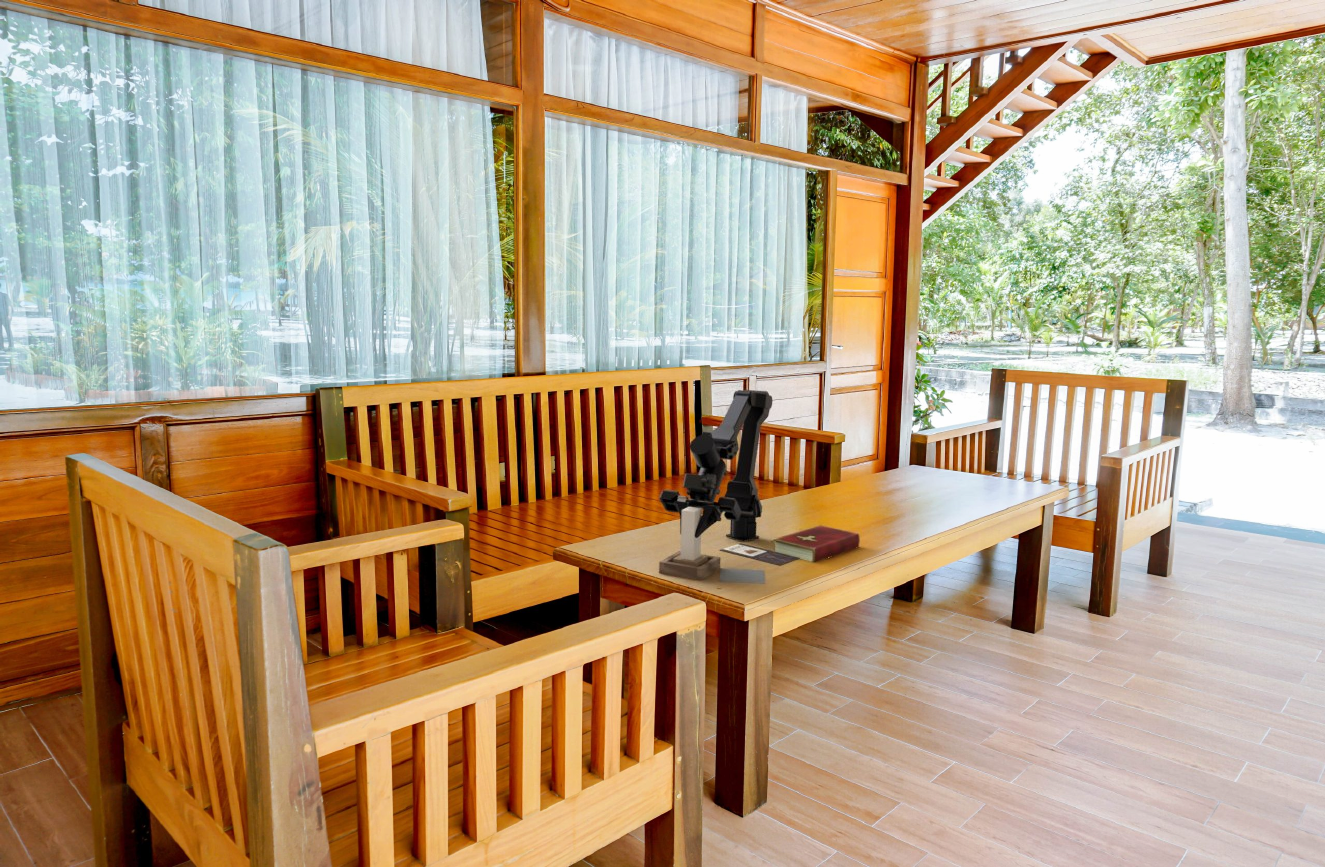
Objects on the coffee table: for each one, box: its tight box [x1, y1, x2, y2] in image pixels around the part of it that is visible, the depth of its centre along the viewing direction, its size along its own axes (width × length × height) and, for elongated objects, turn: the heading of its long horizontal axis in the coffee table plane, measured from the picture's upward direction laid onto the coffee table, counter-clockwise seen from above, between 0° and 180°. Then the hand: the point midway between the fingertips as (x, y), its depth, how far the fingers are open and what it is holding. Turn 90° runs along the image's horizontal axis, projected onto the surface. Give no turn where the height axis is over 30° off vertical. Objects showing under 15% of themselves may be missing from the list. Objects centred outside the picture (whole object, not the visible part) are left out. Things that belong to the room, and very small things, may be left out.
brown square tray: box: [658, 550, 721, 581], centre depth 203 cm, size 11×11×3 cm
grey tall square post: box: [673, 507, 708, 567], centre depth 202 cm, size 6×6×12 cm
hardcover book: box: [773, 524, 861, 563], centre depth 223 cm, size 12×21×4 cm, turn 137°
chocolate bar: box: [719, 542, 800, 567], centre depth 218 cm, size 9×1×18 cm
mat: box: [719, 567, 766, 585], centre depth 200 cm, size 10×10×1 cm
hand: (688, 535), depth 201 cm, fingers closed on grey tall square post, 3 cm apart
